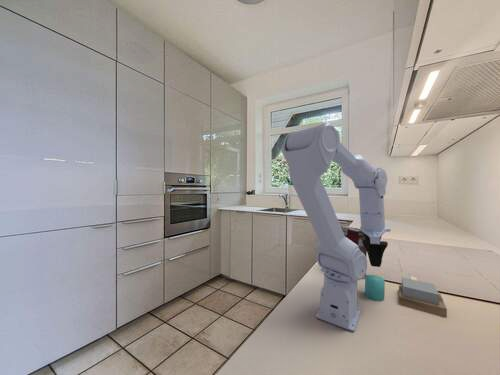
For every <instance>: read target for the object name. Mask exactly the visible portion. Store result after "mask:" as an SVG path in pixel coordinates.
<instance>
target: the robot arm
mask: <svg viewBox="0 0 500 375" xmlns="http://www.w3.org/2000/svg"><path fill="white" fill-rule="evenodd" d="M281 153H282V156H283V157H284V159H285V162H286V164H287V166H288V172H289V178H290V182H291V183H292V186H293V188H294V191H295V193H296V195H297V197H298V199H299V201H300V203H301V205H302V207H303V210H304V212H305V213H306V216H307V218H308V220H309V222H310V224H311V226H312V228H313V230H314V232H315V235H316V237H317V239H318V241H317V243H316V244H315V246H314V251H315V254H316V259H317V260H316V261H317V264H318V266H319V267H321V272H322V273H323V277H324V278H323V285H322V288H321V290H320V301H319V302H320V307H319V309H318V311H317V312H316V314H315V317H316V319H319V320H322V321H325V322H326V323H329V324H333V325H334V326H337V327H340V328H343V329H345V330H347V331H351V332H355V330H356V327H357V324H358V322H359V318H360V314H361V311H362V310H361V308H359V307H358V281H360V280H362V279H361V278H363V277H364V275H365V273H366V274H367V270H368V260H369V263H370V264H369V265H370V266H371V267H374V268H375V267H377V268H381V267H382V266H381V265H382V262H383V257H384V253H385V250H386V249H387V247H388V245H389V243H388V241H385V240H383V241H381V239H382V237H383V235H384V234H385V233H386V232H390V233H391V227H390V226H386V222H385V219H386V218H385V199H384V196H385V195H386V193H387V192H386V190H387V188H386V187H387V185H388V174H387V172H386V170H385V169H382V167H375V166H374V165H372V163H370V161H369V160H367V159H366V158H365V157H363V155H362V154H361V153H358V154H357V153H356V154H352V153H351V152H350V150H349V149H348V148H347V147H346V146H345V145H344V144H343V143H342V142H341V137H340V131H339V130H338V129H336V128H335V126H334V125H333V124H332V123H330V122H322V123H321V124H319V125H315V126H311V127H308V128H305V129H304V128H303V129H301V130H297V131H291V132H289V133H288V134H287V135H286V136H285V138H284V141H283V144H282V147H281ZM332 162H333V163H336V165H339V166H340V168H341V171H342V173H343V175H345V176H346V177H348V178H349V179H351V181H352V182H353V186H354V187H355V189H358V196H359V198H358V199H359V213H360V215H359V216H360V227H359V229H360V230H361V231H362V233H363V235H364V237H365V239H362V243H363V245H364V247H365V248H366V250H367V253H366V254H367V255H368V256H367V255H366V256H365V254H364V253H363V252H361V251H360V249H359V247H358V245H357V244H355V243H354V242H352V241H351V240H349V239H348V238H347V237H345V235H344V233H343V231H342V228H341V226H342V225H341V224H340V221H339V219H338V217H337V214H336V211H335V209H334V207H333V204H332V203H331V202H332V201H331V199H330V196H329V195H328V193H327V190H326V188H325V186H324V183H323V180H322V178H321V177H322V175H323V174H324V173H326V172H327V171H329V170H328V169H329V167H330V165H331V163H332ZM367 257H368V259H367ZM363 279H364V278H363Z"/></svg>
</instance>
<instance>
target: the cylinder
mask: <svg viewBox="0 0 500 375" xmlns="http://www.w3.org/2000/svg"><path fill="white" fill-rule="evenodd" d="M385 285H386V281H385V278H383V277H381V276H378V275H374V274H366V276H365V278H364V296H365V297H366V298H368V299H369V300H372V301H376V302H382V301H385Z"/></svg>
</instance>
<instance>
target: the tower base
mask: <svg viewBox="0 0 500 375" xmlns="http://www.w3.org/2000/svg"><path fill="white" fill-rule="evenodd" d="M438 293H439V305H436V304H432V303H428V302H424V301H420V300H416V299H412V298H408V297H404V296H403V292H402V283H401V284H400V283H399V284H398V304H399V305H400V306H404V307H408V308H412V309H415V310H419V311H422V312H425V313H429V314H433V315H436V316H440V317H443V318H447V313H448V312H447V311H448V310H447V307H446V304H445V301H444V299H443V297H442V294H441V293H440V292H438Z"/></svg>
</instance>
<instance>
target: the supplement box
mask: <svg viewBox="0 0 500 375" xmlns="http://www.w3.org/2000/svg"><path fill="white" fill-rule="evenodd" d="M340 226H341V228H342V231H343V233H344V235H345V237H347V238H348V239H349V240H351V241H352V242H354V243H355V244H357V245H358V247H359V249H360V251H361V252H363V253H364V254H365V256H366V257H367V254H368V253H367V250H366V248H365V247H364V245H363V243H362V239H365V237H364V235H363V233H362V231H361V230H360V228H357V227H353V226H348V225H340ZM366 275H367V272H366V273H365V275H364V277H363V278H361V279H360V280H362V279H365V276H366Z"/></svg>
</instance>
